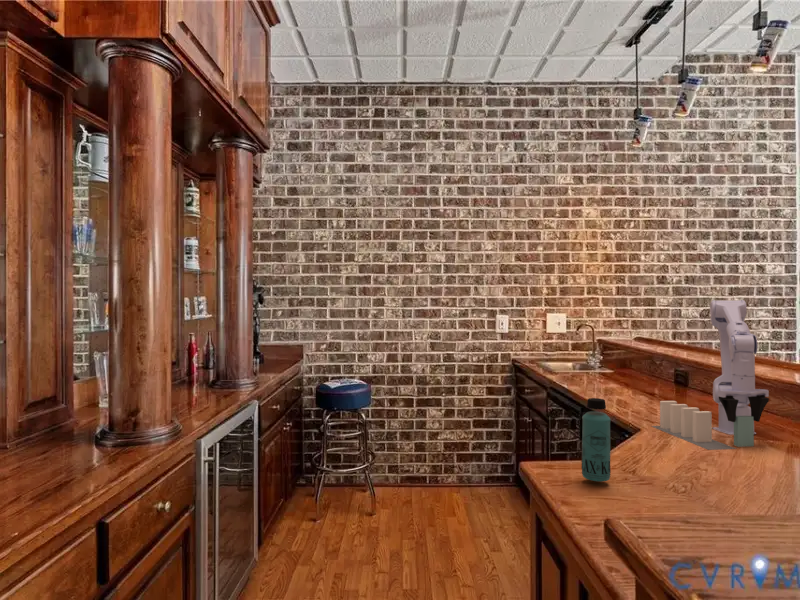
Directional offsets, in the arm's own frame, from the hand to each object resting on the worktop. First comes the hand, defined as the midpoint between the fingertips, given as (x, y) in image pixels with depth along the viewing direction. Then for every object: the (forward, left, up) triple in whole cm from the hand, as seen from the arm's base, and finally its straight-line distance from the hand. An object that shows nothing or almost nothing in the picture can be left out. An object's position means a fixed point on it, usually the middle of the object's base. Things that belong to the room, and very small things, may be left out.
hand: (743, 421), depth 147 cm
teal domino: (0, 0, -8) cm, 8 cm away
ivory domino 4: (+9, -6, -7) cm, 13 cm away
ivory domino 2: (+9, -17, -7) cm, 20 cm away
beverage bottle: (+58, +25, -8) cm, 64 cm away
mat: (+9, -11, -8) cm, 16 cm away
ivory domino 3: (+9, -11, -7) cm, 16 cm away
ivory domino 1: (+9, -22, -7) cm, 25 cm away
